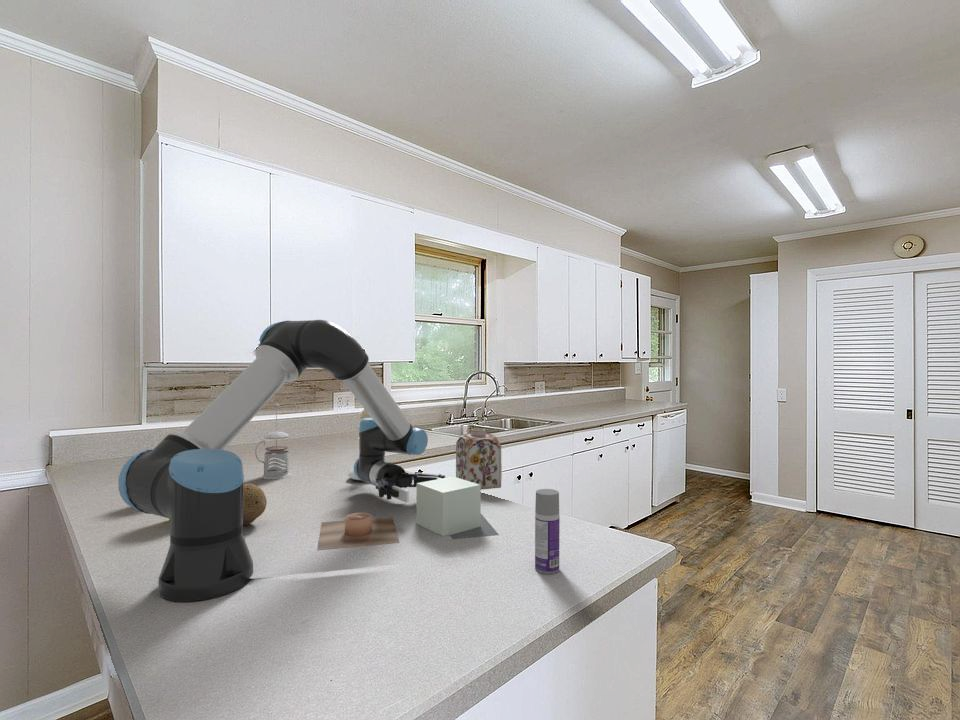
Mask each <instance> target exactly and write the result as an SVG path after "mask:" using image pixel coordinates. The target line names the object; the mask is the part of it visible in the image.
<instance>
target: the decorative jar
mask: <svg viewBox="0 0 960 720" xmlns="http://www.w3.org/2000/svg"><path fill="white" fill-rule="evenodd" d="M455 445H456V447H455V477H457V478H460V479H463V480H466V481H470V482H473V483H476V484H479V485H481V490H491V489H501V488H502V477H503V476H502V468H503V467H502V445H501V442H500V441H499V439H498V437H497V436H496V435H494V434H491V433H486V429H485V428H478V427H477V428H471V429H470V433H464V434H461V435H459V438H458V439H457V441H456V444H455Z"/></svg>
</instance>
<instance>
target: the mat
mask: <svg viewBox="0 0 960 720" xmlns="http://www.w3.org/2000/svg"><path fill="white" fill-rule="evenodd" d="M499 535H500V534H499V532H497V531H496V529H495V528H494V527H493V525H491V523H490V522H489V521H488V520H487V519H486V517H484V515H483V514H482V513H481V527H477V528H474V529H470V530H467V531H463V532H459V533H456V534H452V535H450V534H449V536H450V538H451V539H452V540H457V539H459V540H460V539H467V538H468V539H470V538H478V537H479V538H480V537H481V538H482V537H491V536H499Z"/></svg>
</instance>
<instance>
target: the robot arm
mask: <svg viewBox="0 0 960 720" xmlns="http://www.w3.org/2000/svg"><path fill="white" fill-rule="evenodd" d="M258 341H259V344H258V346H257V348H256V349H255V359H254V360H253V361H252V362H251V363H250V364H249V365H248V366H247V367H246V368H245V369H244V370H243V371H242V372H241V373H240V374H239V375H238V376H237V377H236V378H235V379H234V380H233V381H232V382H231V383H230V384H229V385H228V386H227V387H226V388H225V389H224V390H223V391H222V392H221V393H220V394H219V395H218V396H216V398H215V399H214V400H213V401H212V402H211V403H210V404H209V405H208V406H207V407H205V409H203V411H202V412H201V413H200V414H198V416H197V417H196V418H195V419H194V420H193V421H192V422H191V423H190V424H188V425H187V427H186V428H185V429H183V431H182V432H173V433H168V435H166V436H165V437H164V438H163V439H162V440H161V441H160V442H159V443H158V444H157V445H155V447H154V448H151V449H146V450H143V451H139V452H137V453H136V454H134V455H132V456H131V457H129V459H127V461H126V462H125V463H124V465H123V466H122V467H121V470H120V472H119V475H118V483H117V485H118V492H119V495H120V497H121V499H122V500H123V502H124V503H125V504H126V505H127V506H128V507H130V508H133V509H135V510H137V512H140V513H143V514H147V515H148V514H149V515H154V516H159V517H161V518H165V519H169V518H170V520H169V527H170V528H169V536H170V537H169V538H170V539H169V541H170V542H169V547H168V551H167V554H166V557H165V559H164V562H163V565H162V568H161V571H160V574H159V577H158V582H157V585H158V586H157V587H158V595H159V596H160V597H162V598H163V599H165V600H169V601H174V602H195V601H203V600H208V599H213V598H217V597H220V596H224V595H227V594H229V593H231V592H235V591H236V590H238V589H240V588H242V587H243V586H245V585H246V584H248V583H249V582H251V580H252V578H251V577H252V575H253V573H254V561H253V558H252V556H251V553H250V551H249V548H248V547H249V546H248V545H247V543H246V540H245V539H246V538H245V537H244V530H243V529H244V525H243V484H244V480H245V474H244V468H243V462H242V458H241V457H240V456H239V455H238V454H236V453H234V452H232V451H230V450H229V451H228V450H225V449H226V448H227V447H229V445H230V444H231V443H232V442H233V441H234V439H236V437H237V436H238V435H239V434H240V432H242V431H243V429H244V428H246V426H247V425H248V424H249V423H250V422H251V420H252V419H253V418H254V417H255V416H256V415H257V414H258V413H259V412H260V411H261V409H262V408H263V407H264V406H265V405H266V404H267V403H268V402H269V401H270V400H271V399H272V398H273V397H274V395H275V394H276V393H277V392H278V391H279V390H280V389H281V388H282V387H283V385H284V384H285V383H294V382H295V381H297V379H299V377H300V376H301V375H302V374H303V373H304V372H305V370H307V369H309V368H311V369H312V368H313V369H319V368H320V369H323V370H325V371H327V372H330V374H331V375H332V376H333V377H334V378H335V380H337V381H341V382H343V383H344V384H345V386H346V387H347V388H348V390H349V391H350V393H352V394H353V397H355V399H356V400H357V401H358V402H359V404H361V406H362V407H363V410H364V409H365V410H366V411H367V412H368V414H369V415H370V416H371V418H364V419H361V420H360V421H359V429H360V430H359V429H358V430H359V432H358V438H359V440H358V441H359V442H358V444H359V446H358V447H359V450H358V451H359V455H358V458H357V459H356V460H355V462H354V465H353V467H354V474H355V475H356V477H357V478H359V479H360V480H359V481H362V482H363V483H366V484H370V485H372V486H375V489H376V490H377V491H378V497H379V498H384V497H385V496H386V500H389V501H390V500H392V498H395V499H396V500H399V501H401V502H404V503H409V493H410V492H409V490H408V489H406V488H417V483H420V482H426V481H431V480H436V479H442V478H446V475H444V474H441V473H439V474H435V473H434V474H433V473H426V472H424V473H423V472H419V471H415V472H414V473H410V472H409V473H408V472H406V470H405V469H404V468H403V467H402V466H401V465H399V464H395V463H392V462H389V461H386V459H385V457H386V456H385V455H386V452H387V453H393V454H394V453H396V454H401V455H408V456H411V455H412V456H414V455H415V456H417V455H418V456H419V455H421V454H423V453H425V451H426V448H427V446H428V442H429V441H428V440H429V438H428V434H427V432H426V430H424V429H423V428H419V427H414V426H413V425H412V424H411V422H410V421H409V419H408V418H407V416H406V415H405V413H404V412H403V411H402V409H401V408H400V407H399V405H398V404H397V402H396V401H395V399H394V398H393V396H392V395H391V394H390V392H389V391H388V389H387V388H386V387H385V385H384V384H383V382H382V381H381V380H380V378H379V376H378V375H377V373H376V371H374V370H373V368H372V367H371V365H370V364H369V361H370V359H369V355H368V354H367V352H366V351H365V350H364V349H363V347H362V345H361V344H360V343H359V342H358V341H357V340H356V339H355V338H354V337H353V336H352V335H351V334H350V333H349V332H348V331H346V330H345V329H344V328H343V327H341V326H339V325H338V324H336V323H334V322H331V321H330V320H325V319H313V320H283V321H278V322H275V323H272V324H270V325H268V326H267V327H266V328H265V329H264V330H263V331H262V333H261V335H260V336H259V339H258Z"/></svg>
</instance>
